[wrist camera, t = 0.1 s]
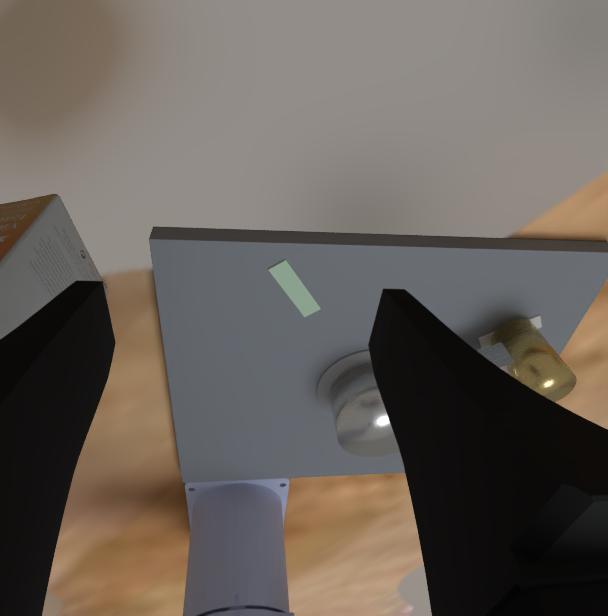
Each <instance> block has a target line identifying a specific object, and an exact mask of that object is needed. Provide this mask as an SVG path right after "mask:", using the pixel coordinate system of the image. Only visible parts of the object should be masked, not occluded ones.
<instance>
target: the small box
mask: <svg viewBox="0 0 608 616" xmlns="http://www.w3.org/2000/svg"><path fill="white" fill-rule="evenodd" d="M77 280H78V281H103V280H102V279H101V277H100V275H99V273H98V271H97V269H96V267H95V265H94V263H93V261H92V259H91V257H90V255H89V253H88V251H87V250H86V248H85V246H84V244H83V242H82V240H81V238H80V236H79V234H78V232H77V230H76V228H75V226H74V224H73V222H72V220H71V218H70V216H69V214H68V212H67V210H66V208H65V207H64V204H63V202H62V201H61V199H60V197H59V196H58V195H57V194H52V195H47V196H42V197H37V198H33V199H28V200H22V201H17V202H12V203H6V204H0V339H2V338H3V337H4V336H6V335H7V334H9V333H10V332H11V331H13V330H14V329H15V328H17V327H18V326H19V325H21V324H22V323H23V322H24V321H26V320H27V319H28V318H30V317H31V316H32V315H33V314H35V313H36V312H37V311H39V310H40V309H41V308H42V307H44V306H45V305H46V304H47V303H49V302H50V301H51V300H52V299H53V298H55V297H56V296H57V295H58V294H60V293H61V292H62V291H63V290H65V289H66V288H67V287H68V286H70V285H71V284H72V283H74V282H75V281H77ZM103 285H104V290H105V295H106V297H107V295H108V290H107V288H106V286H105V284H104V282H103Z"/></svg>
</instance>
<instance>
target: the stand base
mask: <svg viewBox="0 0 608 616" xmlns="http://www.w3.org/2000/svg"><path fill="white" fill-rule="evenodd" d="M149 242H150V249H151V257H152V264H153V272H154V279H155V286H156V294H157V301H158V309H159V316H160V323H161V331H162V338H163V345H164V353H165V360H166V367H167V375H168V382H169V389H170V397H171V404H172V411H173V419H174V426H175V433H176V441H177V448H178V455H179V463H180V470H181V477H182V483H194V482H215V481H236V480H257V479H278V478H299V477H320V476H341V475H362V474H383V473H404V472H405V469H404V465H403V461H402V457H401V454H400V451H398V452H396V453H393V454H390V455H386V456H381V457H360V456H355V455H352V454H350V453H348V452H346V451H345V450H343V449H342V448H341V446H340V445H339V443H338V440H337V435H336V430H335V425H334V420H333V414H332V409H331V404H330V399H329V392H330V388H331V386H332V384H333V383H334V381H335V380H336V379H337V378H338V377H339V376H340V375H341V374H343V373H344V372H346V371H347V370H349V369H351V368H353V367H356V366H358V365H362V364H366V363H371V357H370V352H369V346H368V343H369V340H370V336H371V332H372V328H373V324H374V321H375V317H376V313H377V309H378V305H379V302H380V298H381V294H382V290H383V289H405V290H406V291H408V292H409V293H410V294H411V295H412V296H414V297H415V298H416V299H417V300H418V301H419V302H420V303H421V304H423V305H424V306H425V307H426V308H427V309H428V310H429V311H430V312H432V313H433V314H434V315H435V316H436V317H437V318H438V319H439V320H440V321H442V322H443V323H444V324H445V325H446V326H447V327H448V328H450V329H451V330H452V331H453V332H454V333H455V334H457V335H458V336H459V337H460V338H461V339H463V340H464V341H465V342H466V343H467V344H469V345H470V346H471V347H472V348H474V349H475V350H476V351H478V350H481V349H484V348H486V347H489V346H491V338H492V336H493V334H494V333H495V332H496V330H497V329H499V328H500V327H501V326H502V325H504V324H506V323H508V322H510V321H513V320H518V319H525V320H529V321H531V322H532V323H533V324H534V325H535V326H536V328H537V329H538V330H539V331H540V333H541V334H542V335H543V336H544V338H545V339H546V340H547V341H548V343H549V344H550V345H551V346H552V347H553V349H554V350H555V351H556V352H557V354H558V355H559V356H560V354H561V352H562V351H563V349H564V347H565V346H566V344H567V343H568V341H569V339H570V338H571V336H572V334H573V333H574V331H575V330H576V328H577V326H578V325H579V323H580V322H581V320H582V318H583V317H584V315H585V313H586V312H587V310H588V309H589V307H590V305H591V304H592V302H593V301H594V299H595V297H596V296H597V294H598V292H599V291H600V289H601V288H602V286H603V284H604V283H605V281H606V280H607V278H608V242H600V241H570V240H540V239H510V238H479V237H450V236H418V235H389V234H359V233H357V234H356V233H327V232H299V231H298V232H297V231H268V230H267V231H266V230H239V229H208V228H179V227H153V229H152V232H151V235H150V238H149Z"/></svg>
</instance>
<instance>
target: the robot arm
mask: <svg viewBox="0 0 608 616" xmlns="http://www.w3.org/2000/svg"><path fill="white" fill-rule="evenodd" d="M368 346H369V352H370V357H371V363H372V368H373V372H374V377H375V380H376V383H377V386H378V389H379V392H380V395H381V398H382V401H383V404H384V407H385V409H386V412H387V415H388V418H389V421H390V424H391V427H392V430H393V432H394V435H395V438H396V441H397V444H398V447H399V450H400V454H401V457H402V461H403V465H404V469H405V473H406V478H407V482H408V486H409V491H410V495H411V500H412V505H413V509H414V514H415V519H416V524H417V529H418V534H419V539H420V545H421V551H422V556H423V562H424V567H425V573H426V579H427V585H428V591H429V598H430V605H431V612H432V616H608V430H607V429H605V428H603V427H601V426H599V425H597V424H595V423H593V422H591V421H589V420H587V419H585V418H583V417H581V416H579V415H577V414H575V413H573V412H571V411H569V410H567V409H565V408H564V407H562V406H560V405H558V404H557V403H555V402H553V401H551V400H550V399H548V398H546V397H544V396H543V395H541V394H539V393H537V392H536V391H534V390H532V389H531V388H529V387H528V386H526V385H524V384H523V383H521V382H520V381H518V380H517V379H515V378H514V377H512V376H511V375H509V374H508V373H506V372H505V371H503V370H502V369H500V368H499V367H498V366H496V365H495V364H493V363H492V362H491V361H489V360H488V359H487V358H485V357H484V356H483V355H482V354H480V353H479V352H478V351H476V350H475V349H474V348H472V347H471V346H470V345H469V344H467V343H466V342H465V341H464V340H463V339H461V338H460V337H459V336H458V335H457V334H455V333H454V332H453V331H452V330H451V329H450V328H448V327H447V326H446V325H445V324H444V323H443V322H442V321H440V320H439V319H438V318H437V317H436V316H435V315H434V314H433V313H432V312H430V311H429V310H428V309H427V308H426V307H425V306H424V305H423V304H421V303H420V302H419V301H418V300H417V299H416V298H415V297H414V296H412V295H411V294H410V293H409V292H408V291H406V290H405V289H383V290H382V294H381V298H380V302H379V305H378V309H377V313H376V317H375V321H374V324H373V328H372V332H371V336H370V340H369V343H368ZM114 348H115V338H114V334H113V329H112V324H111V319H110V314H109V309H108V304H107V300H106V295H105V290H104V285H103V281H78V280H77V281H75V282H74V283H72V284H71V285H70V286H68V287H67V288H66V289H65V290H63V291H62V292H61V293H60V294H58V295H57V296H56V297H55V298H53V299H52V300H51V301H50V302H49V303H47V304H46V305H45V306H44V307H42V308H41V309H40V310H39V311H37V312H36V313H35V314H33V315H32V316H31V317H30V318H28V319H27V320H26V321H24V322H23V323H22V324H21V325H19V326H18V327H17V328H15V329H14V330H13V331H11V332H10V333H9V334H7V335H6V336H4V337H3V338H2V339H0V616H42V612H43V606H44V601H45V596H46V592H47V587H48V582H49V577H50V572H51V567H52V562H53V558H54V553H55V548H56V544H57V540H58V535H59V531H60V527H61V522H62V518H63V514H64V510H65V506H66V502H67V498H68V494H69V490H70V486H71V482H72V478H73V474H74V471H75V467H76V464H77V461H78V458H79V455H80V452H81V450H82V447H83V444H84V442H85V439H86V436H87V434H88V431H89V428H90V426H91V423H92V420H93V418H94V415H95V412H96V409H97V407H98V404H99V401H100V399H101V396H102V393H103V390H104V388H105V385H106V382H107V379H108V376H109V371H110V367H111V362H112V358H113V353H114ZM289 482H290V479H289V478H278V479H257V480H236V481H215V482H194V483H185V492H186V500H187V507H188V515H189V523H190V530H191V534H190V544H189V555H188V566H187V576H186V587H185V598H184V609H183V616H294V613H290V612H289V598H288V584H287V570H286V556H285V542H284V528H283V527H284V519H285V512H286V504H287V497H288V489H289Z"/></svg>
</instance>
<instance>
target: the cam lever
mask: <svg viewBox="0 0 608 616" xmlns="http://www.w3.org/2000/svg"><path fill="white" fill-rule="evenodd" d="M478 352H479V353H480V354H482V355H483V356H484V357H485V358H487V359H488V360H489V361H491V362H492V363H493V364H495V365H496V366H498V367H499V368H500V369H502V370H503V371H505V372H506V373H508V374H509V375H511V376H512V377H514V378H515V379H517V380H518V381H520V382H521V383H523V384H524V385H526V386H528V387H529V388H531V389H532V390H534V391H536V392H537V393H539V394H541V395H543V396H544V397H546V398H548V399H550V400H551V401H553V402H556V401H558V400H560V399H562V398H563V397H565V396H566V395H568V394H569V393H570V392H571V391H572V389H573V388H574V387H575V384H576V376H575V375H574V374H573V372H572V371H571V370H570V369H569V367H568V366H567V365H566V364H565V362H564V361H563V360H562V359H561V357H560V356H559V355H558V354H557V352H556V351H555V350H554V349H553V347H552V346H551V345H550V344H549V343H548V341H547V340H546V339H545V338H544V336H543V335H542V334H541V333H540V331H539V330H538V329H537V328H536V326H535V325H534V324H533V323H532V322H531V321H529V320H525V319H518V320H513V321H510V322H508V323H506V324H504V325H502V326H501V327H500V328H499V329H497V330H496V332H495V333H494V334H493V336H492V338H491V346H489V347H486V348H484V349H481V350H478ZM329 399H330V404H331V409H332V414H333V420H334V425H335V430H336V435H337V440H338V443H339V445H340V446H341V448H342V449H343V450H345V451H346V452H348V453H350V454H352V455H355V456H360V457H381V456H386V455H390V454H393V453H396V452H398V451H400V450H399V447H398V444H397V441H396V438H395V435H394V432H393V430H392V427H391V424H390V421H389V418H388V415H387V412H386V409H385V407H384V404H383V401H382V398H381V395H380V392H379V389H378V386H377V383H376V380H375V377H374V372H373V368H372V363H366V364H362V365H358V366H356V367H353V368H351V369H349V370H347V371H346V372H344V373H343V374H341V375H340V376H339V377H338V378H337V379H336V380H335V381H334V383H333V384H332V386H331V388H330V392H329Z"/></svg>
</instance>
